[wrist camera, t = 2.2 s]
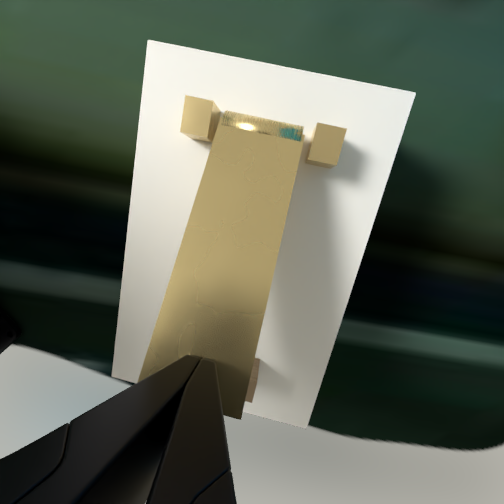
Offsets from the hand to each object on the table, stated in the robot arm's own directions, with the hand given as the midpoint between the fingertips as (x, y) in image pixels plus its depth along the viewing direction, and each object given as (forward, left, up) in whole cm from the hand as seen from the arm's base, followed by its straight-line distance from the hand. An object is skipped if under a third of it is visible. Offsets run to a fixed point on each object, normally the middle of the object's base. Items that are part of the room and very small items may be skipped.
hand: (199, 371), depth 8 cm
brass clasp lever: (+2, +2, -2) cm, 4 cm away
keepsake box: (+2, +1, -10) cm, 10 cm away
